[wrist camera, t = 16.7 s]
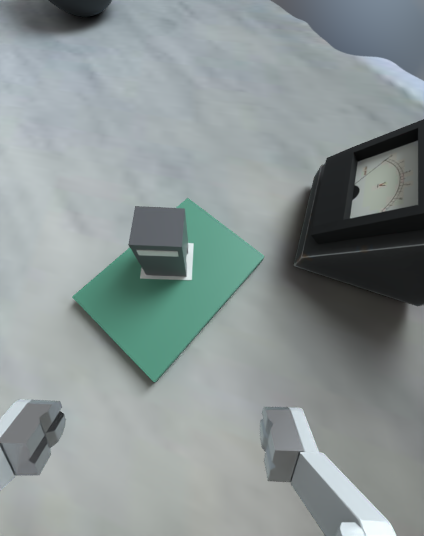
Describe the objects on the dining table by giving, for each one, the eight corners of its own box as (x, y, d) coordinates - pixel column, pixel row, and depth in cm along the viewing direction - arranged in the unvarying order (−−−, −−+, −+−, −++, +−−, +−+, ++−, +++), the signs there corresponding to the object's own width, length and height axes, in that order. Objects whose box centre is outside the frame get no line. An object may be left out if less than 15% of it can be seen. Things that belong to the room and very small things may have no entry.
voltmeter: (308, 183, 39) (405, 17, 20) (410, 213, 37) (614, 63, 19) (287, 269, 33) (400, 142, 14) (408, 308, 31) (706, 224, 13)
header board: (188, 204, 36) (187, 197, 35) (261, 260, 33) (264, 255, 31) (77, 300, 30) (71, 296, 28) (156, 381, 27) (153, 382, 25)
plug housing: (188, 245, 32) (184, 208, 24) (186, 277, 30) (181, 247, 22) (150, 244, 31) (135, 206, 24) (146, 276, 30) (128, 245, 22)
